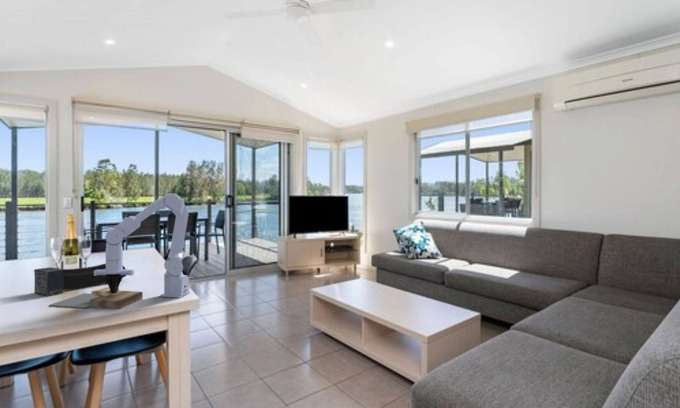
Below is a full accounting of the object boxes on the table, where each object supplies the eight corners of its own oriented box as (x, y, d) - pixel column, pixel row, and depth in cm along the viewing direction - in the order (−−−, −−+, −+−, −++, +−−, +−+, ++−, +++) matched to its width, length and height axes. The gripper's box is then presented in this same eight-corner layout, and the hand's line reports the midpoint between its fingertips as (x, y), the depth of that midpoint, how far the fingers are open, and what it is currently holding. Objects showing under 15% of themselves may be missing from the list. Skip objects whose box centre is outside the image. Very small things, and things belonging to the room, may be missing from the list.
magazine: (43, 274, 146) (118, 246, 169) (40, 273, 148) (115, 245, 171) (58, 309, 150) (129, 277, 174) (55, 308, 152) (126, 276, 175)
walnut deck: (142, 298, 144) (142, 291, 144) (118, 309, 131) (118, 301, 131) (116, 297, 145) (116, 290, 145) (90, 307, 132) (90, 299, 132)
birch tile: (119, 292, 142) (118, 287, 142) (106, 296, 136) (106, 291, 136) (104, 291, 143) (104, 287, 143) (91, 295, 137) (91, 290, 137)
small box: (64, 292, 150) (64, 268, 150) (47, 296, 144) (46, 272, 144) (51, 289, 155) (50, 266, 154) (33, 293, 149) (33, 269, 148)
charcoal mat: (118, 296, 147) (118, 295, 147) (86, 308, 131) (86, 307, 131) (84, 294, 149) (84, 293, 149) (48, 306, 133) (48, 305, 133)
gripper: (138, 257, 142) (138, 290, 143) (101, 257, 141) (101, 290, 142) (128, 260, 135) (128, 295, 136) (90, 260, 134) (90, 295, 135)
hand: (114, 293), depth 138 cm, fingers closed
